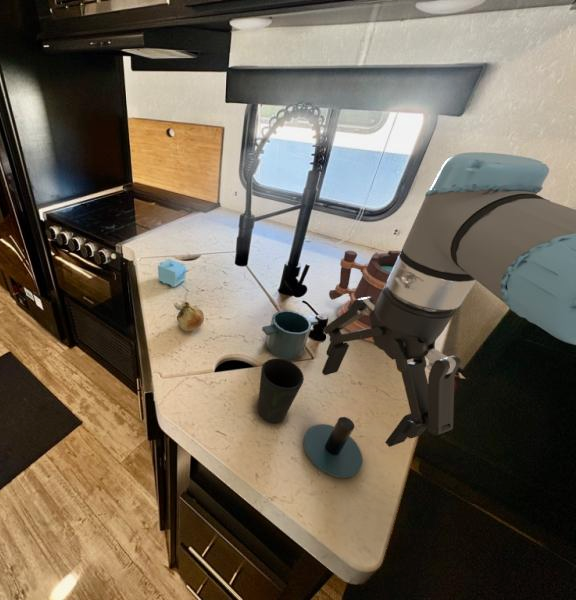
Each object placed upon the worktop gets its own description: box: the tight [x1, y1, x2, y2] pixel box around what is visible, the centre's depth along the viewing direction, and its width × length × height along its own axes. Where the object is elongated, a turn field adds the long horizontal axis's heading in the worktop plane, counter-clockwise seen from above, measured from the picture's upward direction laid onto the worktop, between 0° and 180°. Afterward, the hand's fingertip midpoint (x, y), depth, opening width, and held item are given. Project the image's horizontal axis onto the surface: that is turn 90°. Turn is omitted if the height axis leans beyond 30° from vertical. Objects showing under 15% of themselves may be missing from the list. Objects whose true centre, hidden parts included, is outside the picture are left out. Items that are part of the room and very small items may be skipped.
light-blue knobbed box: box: [157, 259, 190, 288], centre depth 105 cm, size 12×6×8 cm, turn 54°
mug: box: [328, 250, 402, 343], centre depth 85 cm, size 18×23×20 cm
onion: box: [173, 301, 205, 332], centre depth 85 cm, size 8×8×8 cm
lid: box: [303, 416, 363, 479], centre depth 56 cm, size 10×10×9 cm
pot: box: [261, 309, 319, 361], centre depth 79 cm, size 9×15×8 cm, turn 108°
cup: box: [257, 357, 305, 424], centre depth 62 cm, size 8×8×12 cm
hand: (358, 403), depth 50 cm, fingers open, 13 cm apart
